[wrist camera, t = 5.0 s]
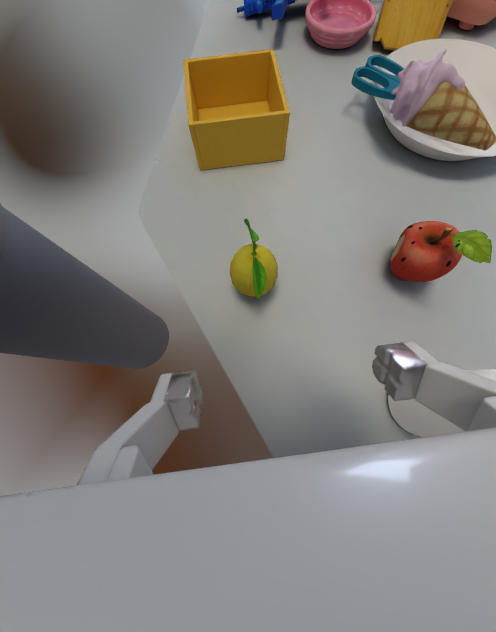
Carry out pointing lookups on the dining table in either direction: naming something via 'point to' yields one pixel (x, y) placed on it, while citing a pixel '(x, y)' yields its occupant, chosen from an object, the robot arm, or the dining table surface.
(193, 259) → the dining table surface
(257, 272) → the lemon
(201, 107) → the yellow bin
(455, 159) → the bowl
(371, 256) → the dining table surface
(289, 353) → the dining table surface
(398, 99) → the ice cream cone
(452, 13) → the teapot
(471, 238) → the apple
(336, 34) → the saucer
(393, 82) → the scissors
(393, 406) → the can
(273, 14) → the toy gun
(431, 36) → the yellow wooden block
